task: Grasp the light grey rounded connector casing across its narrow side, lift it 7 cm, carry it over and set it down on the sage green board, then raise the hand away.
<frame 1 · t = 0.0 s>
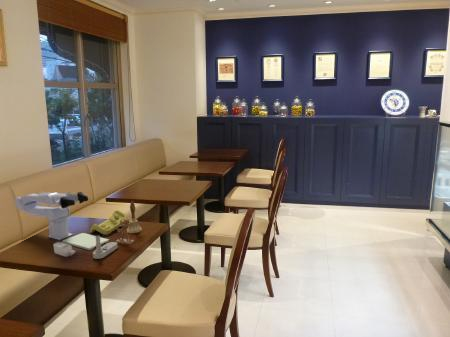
hand: (80, 200, 180), 22 cm above the table, tool horizontal, fingers open, 7 cm apart
gingerbread man figurine: (125, 242, 183), on the table
electronic device: (105, 253, 172), on the table
plastic component: (110, 229, 203), on the table
sage board: (85, 242, 185), on the table
grey connector: (63, 253, 173), on the table
hand bell: (134, 230, 199), on the table
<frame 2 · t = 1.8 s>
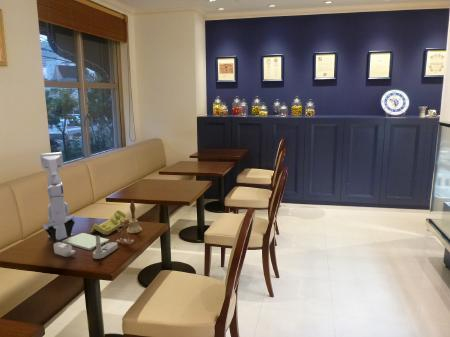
hand: (61, 239, 171), 7 cm above the table, tool pointing down, fingers open, 7 cm apart
nothing on the table moved.
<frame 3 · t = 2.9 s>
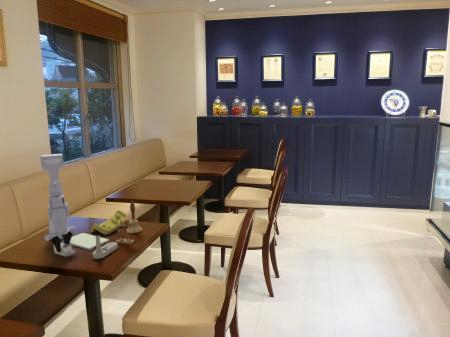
hand: (63, 250, 172), 2 cm above the table, tool pointing down, fingers closed on grey connector, 4 cm apart
grey connector: (63, 253, 173), on the table, touching gripper
everything else where it was.
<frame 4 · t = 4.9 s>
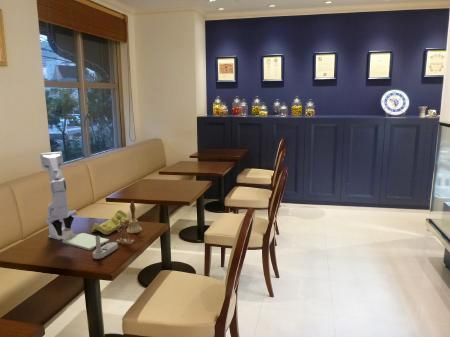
hand: (64, 233, 172), 9 cm above the table, tool pointing down, fingers closed on grey connector, 4 cm apart
grey connector: (64, 237, 173), point 7 cm above the table, touching gripper
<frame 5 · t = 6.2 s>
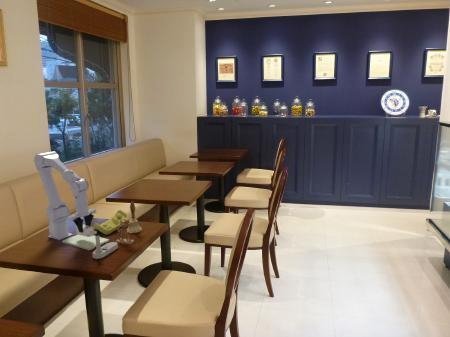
hand: (84, 230, 184), 6 cm above the table, tool pointing down, fingers closed on grey connector, 4 cm apart
grey connector: (85, 234, 184), point 4 cm above the table, touching gripper
when the fingers open (4 cm above the table, at t = 6.9 s): grey connector drops 1 cm, resting on sage board.
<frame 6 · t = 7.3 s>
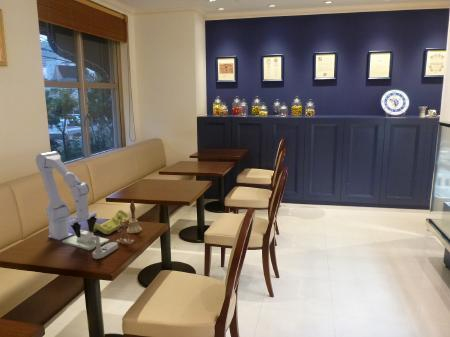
hand: (85, 234, 184), 4 cm above the table, tool pointing down, fingers open, 7 cm apart
grey connector: (85, 240, 185), point 1 cm above the table, touching sage board
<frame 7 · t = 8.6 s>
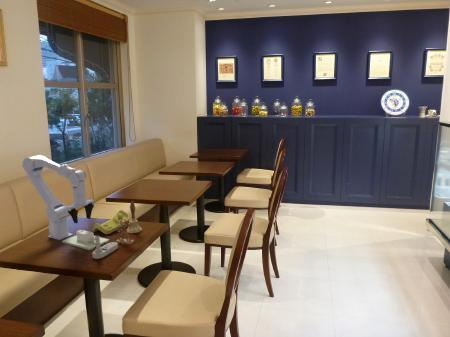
hand: (82, 220, 188), 9 cm above the table, tool pointing down, fingers open, 7 cm apart
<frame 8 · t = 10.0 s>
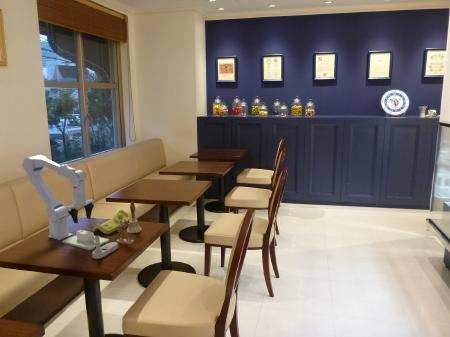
hand: (82, 220, 188), 9 cm above the table, tool pointing down, fingers open, 7 cm apart
at the end: grey connector inside the target area on the sage board (0.0 cm from its centre), point 1.0 cm above the sage board's base; grey connector tilted 0°; the gripper is holding nothing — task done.
